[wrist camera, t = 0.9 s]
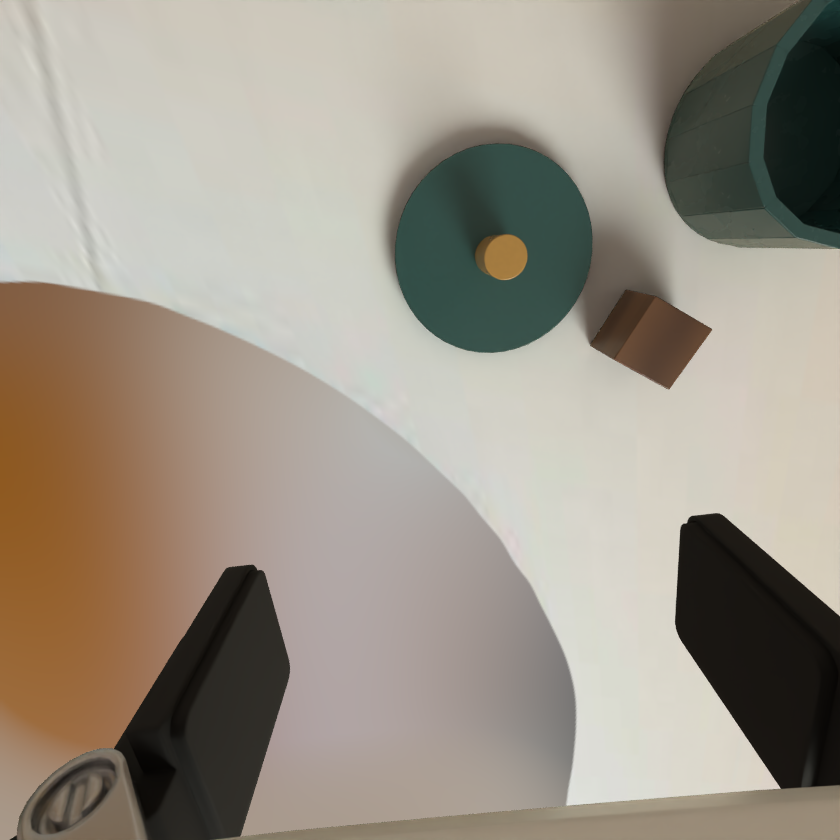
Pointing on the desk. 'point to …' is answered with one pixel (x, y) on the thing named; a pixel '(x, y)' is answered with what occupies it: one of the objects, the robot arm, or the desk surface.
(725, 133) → the tin
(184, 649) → the robot arm
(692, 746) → the desk surface
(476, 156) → the lid
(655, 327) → the block
